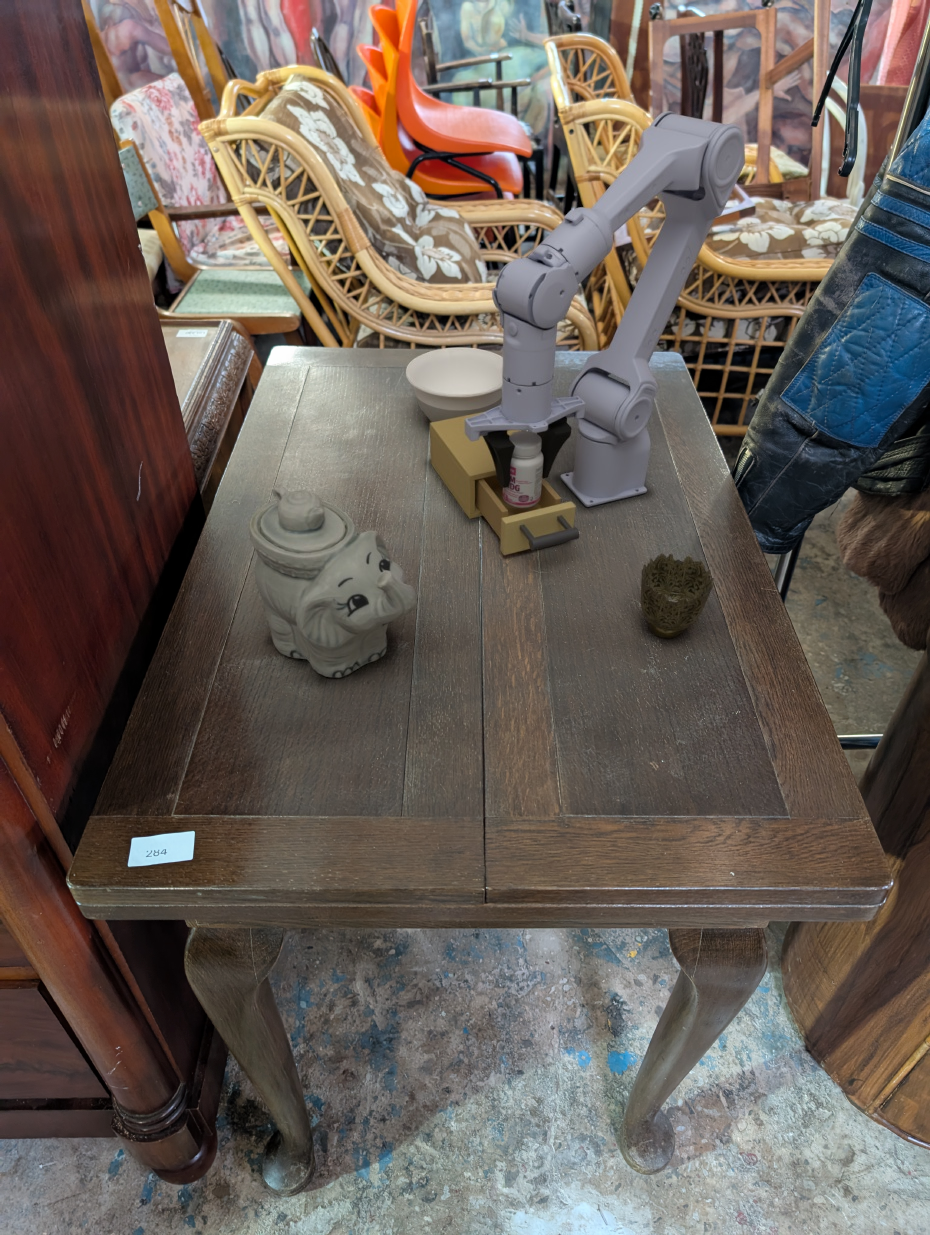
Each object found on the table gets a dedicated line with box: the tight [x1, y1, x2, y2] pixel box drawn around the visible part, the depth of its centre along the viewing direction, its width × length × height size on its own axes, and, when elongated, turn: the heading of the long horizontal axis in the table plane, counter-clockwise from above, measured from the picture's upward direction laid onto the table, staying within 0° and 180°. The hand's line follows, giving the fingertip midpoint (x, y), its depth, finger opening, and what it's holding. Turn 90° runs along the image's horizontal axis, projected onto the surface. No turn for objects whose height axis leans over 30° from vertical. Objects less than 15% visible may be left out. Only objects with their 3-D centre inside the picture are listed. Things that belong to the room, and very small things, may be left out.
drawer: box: [475, 475, 580, 556], centre depth 100 cm, size 18×9×5 cm, turn 22°
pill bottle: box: [503, 430, 543, 508], centre depth 97 cm, size 5×5×8 cm
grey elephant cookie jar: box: [248, 484, 417, 679], centre depth 80 cm, size 16×15×19 cm
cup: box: [640, 552, 715, 639], centre depth 86 cm, size 8×7×8 cm
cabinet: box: [429, 412, 520, 520], centre depth 108 cm, size 15×11×7 cm
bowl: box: [405, 346, 503, 423], centre depth 120 cm, size 16×16×8 cm
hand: (522, 478), depth 98 cm, fingers closed on pill bottle, 5 cm apart
